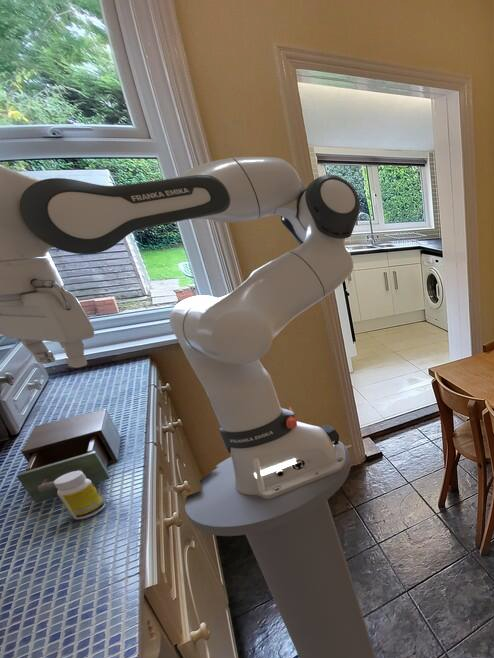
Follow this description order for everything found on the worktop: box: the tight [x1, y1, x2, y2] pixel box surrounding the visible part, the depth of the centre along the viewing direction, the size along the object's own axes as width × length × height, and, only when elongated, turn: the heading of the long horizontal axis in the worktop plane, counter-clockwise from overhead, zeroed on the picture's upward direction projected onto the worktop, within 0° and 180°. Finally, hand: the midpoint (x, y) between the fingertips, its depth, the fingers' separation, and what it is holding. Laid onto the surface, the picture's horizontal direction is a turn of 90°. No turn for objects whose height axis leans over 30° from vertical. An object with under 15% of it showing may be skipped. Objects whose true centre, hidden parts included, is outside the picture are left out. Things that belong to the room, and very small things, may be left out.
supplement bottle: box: [54, 471, 106, 520], centre depth 79 cm, size 5×5×8 cm
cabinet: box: [20, 408, 122, 465], centre depth 97 cm, size 15×13×9 cm
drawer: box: [16, 434, 111, 504], centre depth 87 cm, size 18×11×7 cm, turn 39°
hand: (63, 364), depth 68 cm, fingers open, 8 cm apart
